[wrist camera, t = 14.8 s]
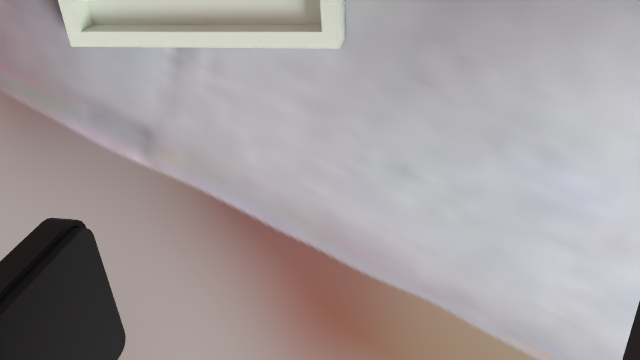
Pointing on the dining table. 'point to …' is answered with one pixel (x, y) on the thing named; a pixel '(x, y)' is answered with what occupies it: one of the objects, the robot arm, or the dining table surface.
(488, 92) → the dining table surface
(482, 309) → the dining table surface
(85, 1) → the coaster tray
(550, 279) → the dining table surface
